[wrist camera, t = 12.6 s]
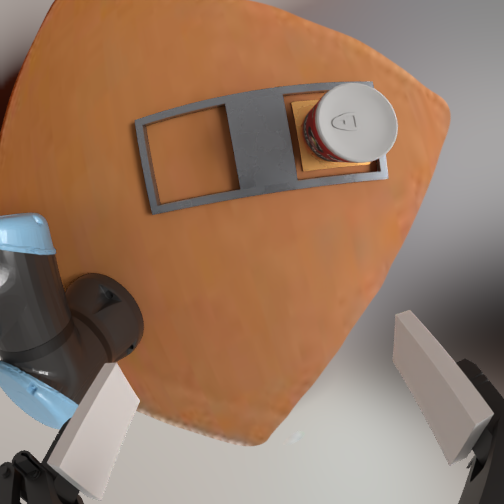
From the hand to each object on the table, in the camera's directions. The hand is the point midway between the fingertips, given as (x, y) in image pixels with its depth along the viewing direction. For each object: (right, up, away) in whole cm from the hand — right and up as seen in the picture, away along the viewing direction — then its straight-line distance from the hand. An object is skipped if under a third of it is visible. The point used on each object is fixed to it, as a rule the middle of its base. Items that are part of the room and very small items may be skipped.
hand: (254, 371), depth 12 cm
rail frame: (+1, +19, +22) cm, 29 cm away
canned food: (+10, +20, +21) cm, 31 cm away
